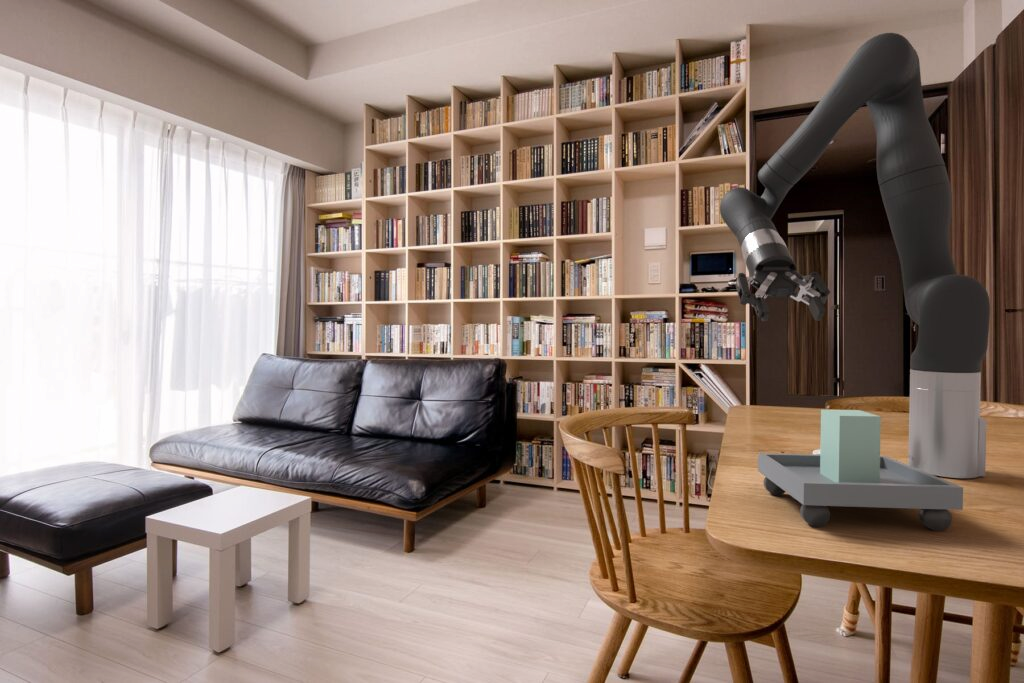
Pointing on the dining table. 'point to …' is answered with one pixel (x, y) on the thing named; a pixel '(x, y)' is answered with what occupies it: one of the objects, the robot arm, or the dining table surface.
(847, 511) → the dining table surface
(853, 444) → the sage part block
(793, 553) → the dining table surface
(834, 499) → the grey shallow tray
